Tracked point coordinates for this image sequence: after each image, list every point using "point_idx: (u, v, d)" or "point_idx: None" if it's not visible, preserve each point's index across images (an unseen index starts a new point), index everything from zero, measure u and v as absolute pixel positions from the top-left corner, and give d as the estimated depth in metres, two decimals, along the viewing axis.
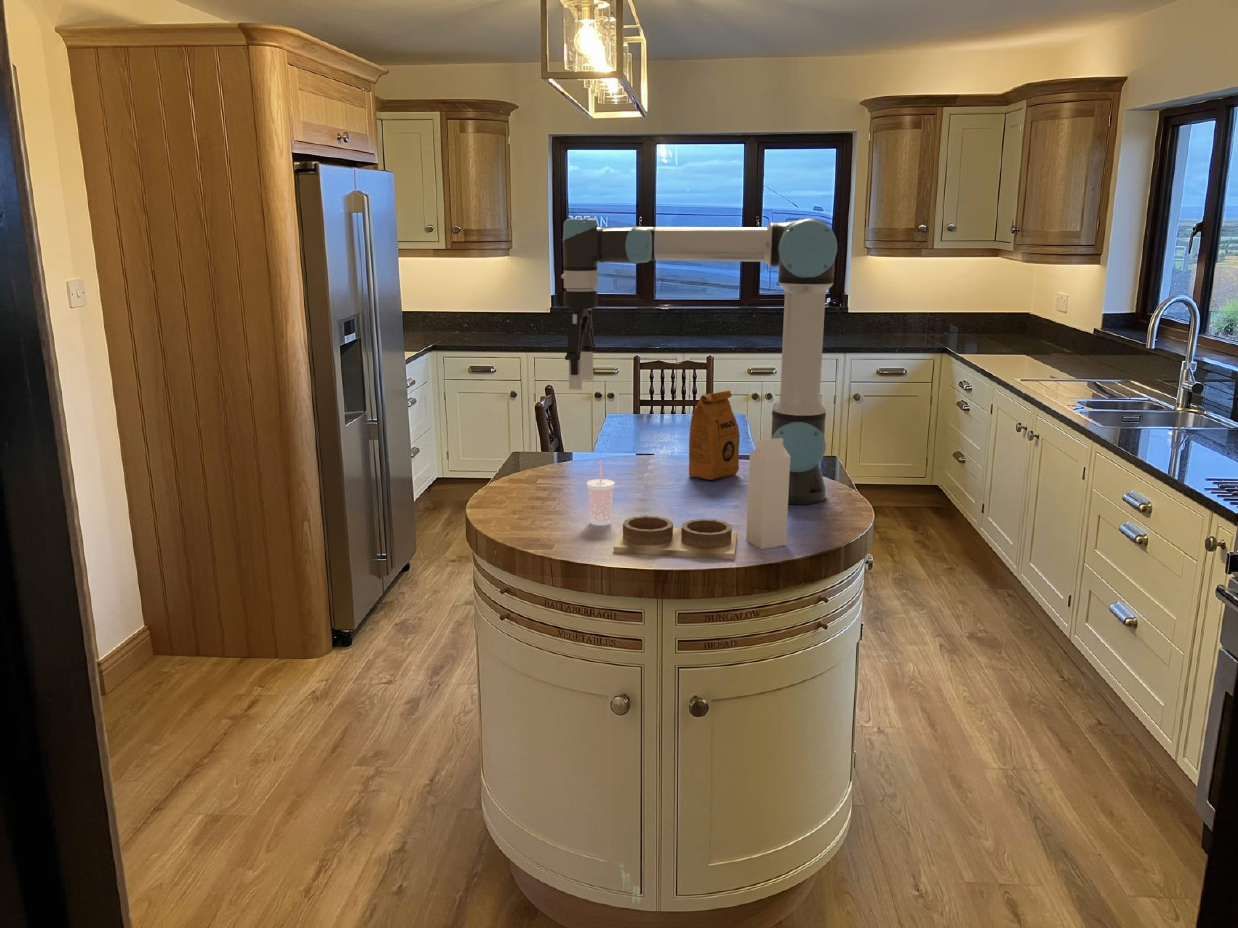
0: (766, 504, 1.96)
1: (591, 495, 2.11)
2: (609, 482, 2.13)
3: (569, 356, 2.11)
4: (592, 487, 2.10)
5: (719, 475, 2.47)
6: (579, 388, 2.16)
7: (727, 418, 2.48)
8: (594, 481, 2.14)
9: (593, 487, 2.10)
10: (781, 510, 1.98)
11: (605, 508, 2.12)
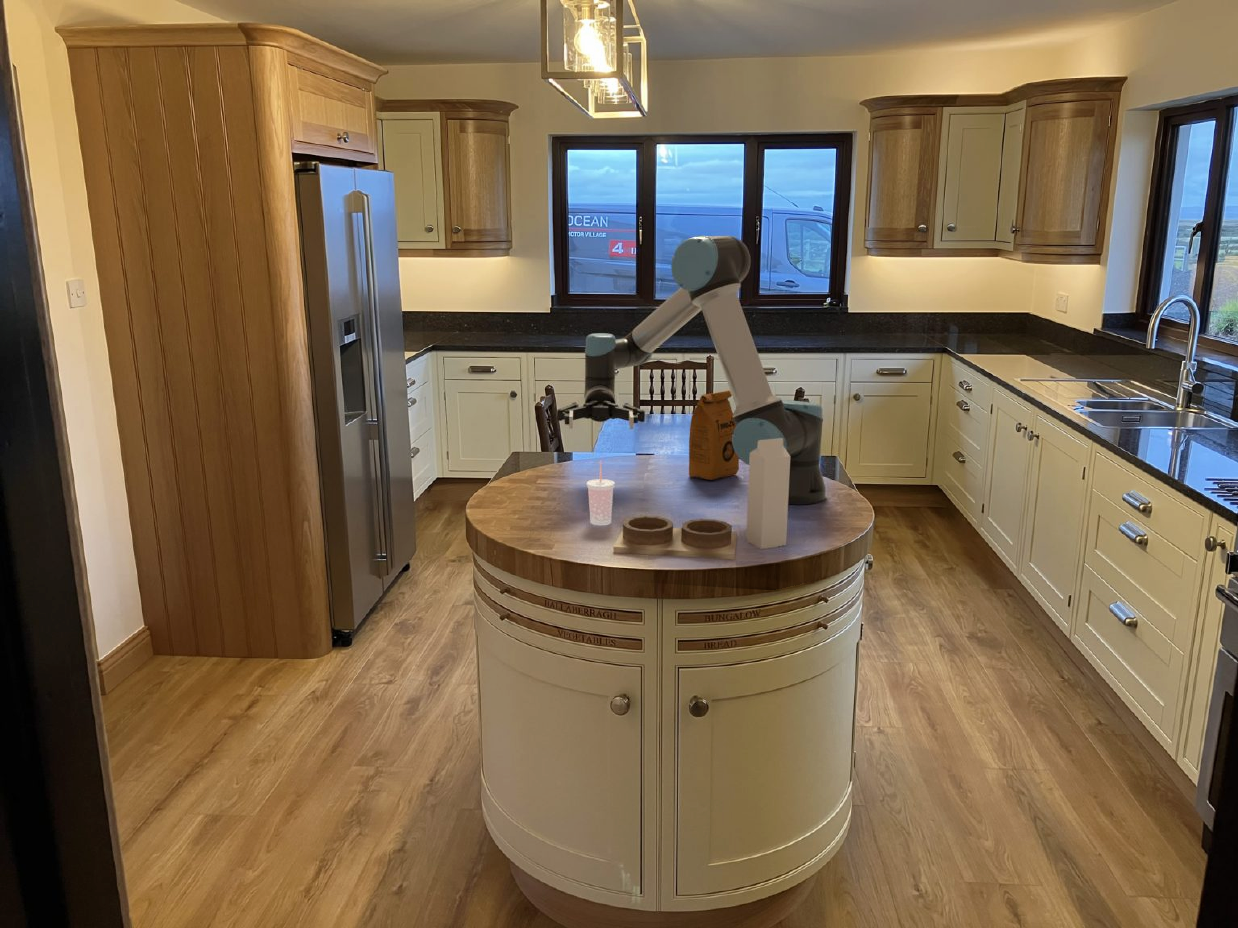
0: (766, 504, 1.96)
1: (591, 495, 2.11)
2: (609, 482, 2.13)
3: (557, 417, 2.26)
4: (592, 487, 2.10)
5: (719, 475, 2.47)
6: (569, 418, 2.18)
7: (727, 418, 2.48)
8: (594, 481, 2.14)
9: (593, 487, 2.10)
10: (781, 510, 1.98)
11: (605, 508, 2.12)
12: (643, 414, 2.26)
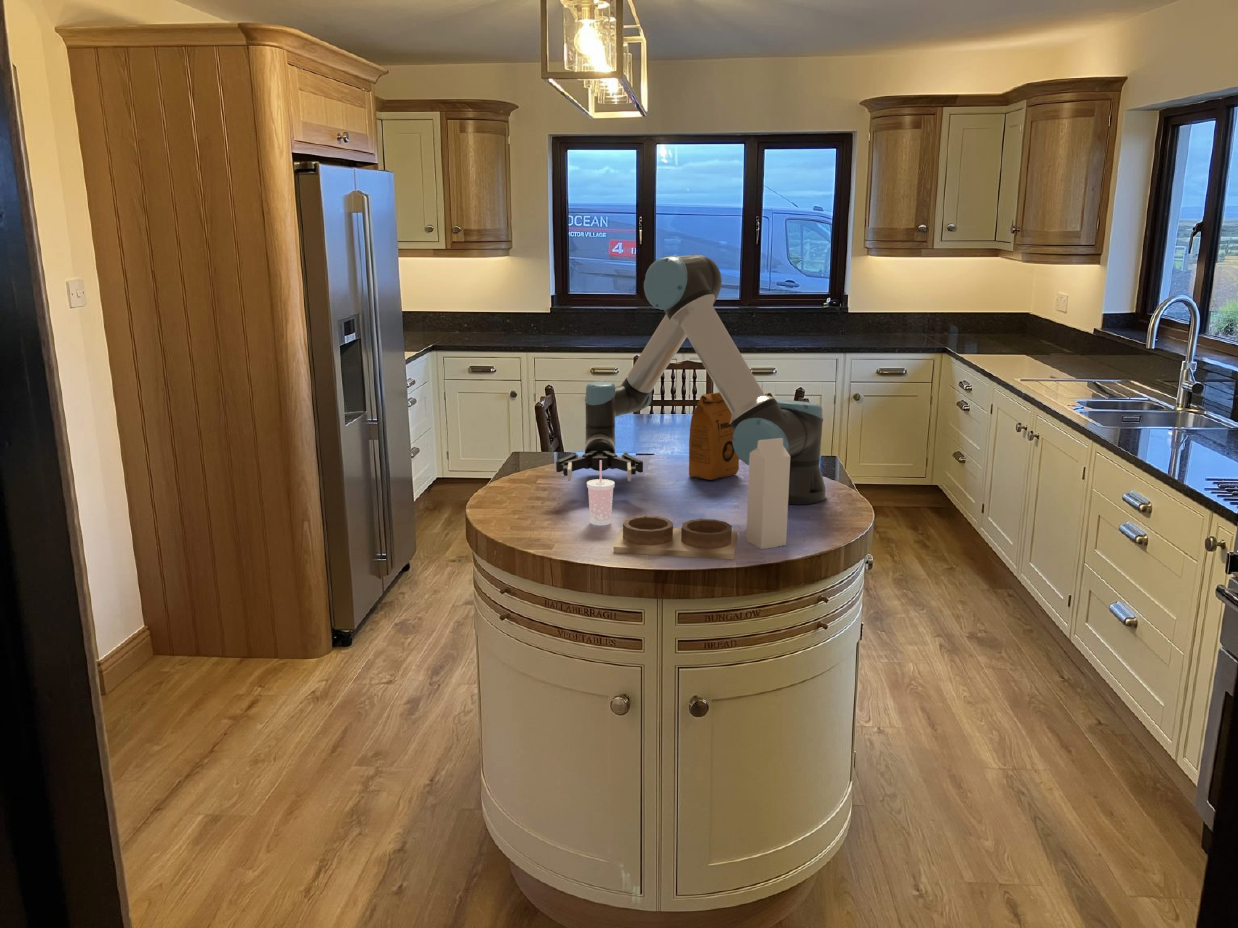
0: (766, 504, 1.96)
1: (591, 495, 2.11)
2: (609, 482, 2.13)
3: (556, 468, 2.28)
4: (592, 487, 2.10)
5: (719, 475, 2.47)
6: None
7: (727, 418, 2.48)
8: (594, 481, 2.14)
9: (593, 487, 2.10)
10: (781, 510, 1.98)
11: (605, 508, 2.12)
12: (642, 465, 2.28)
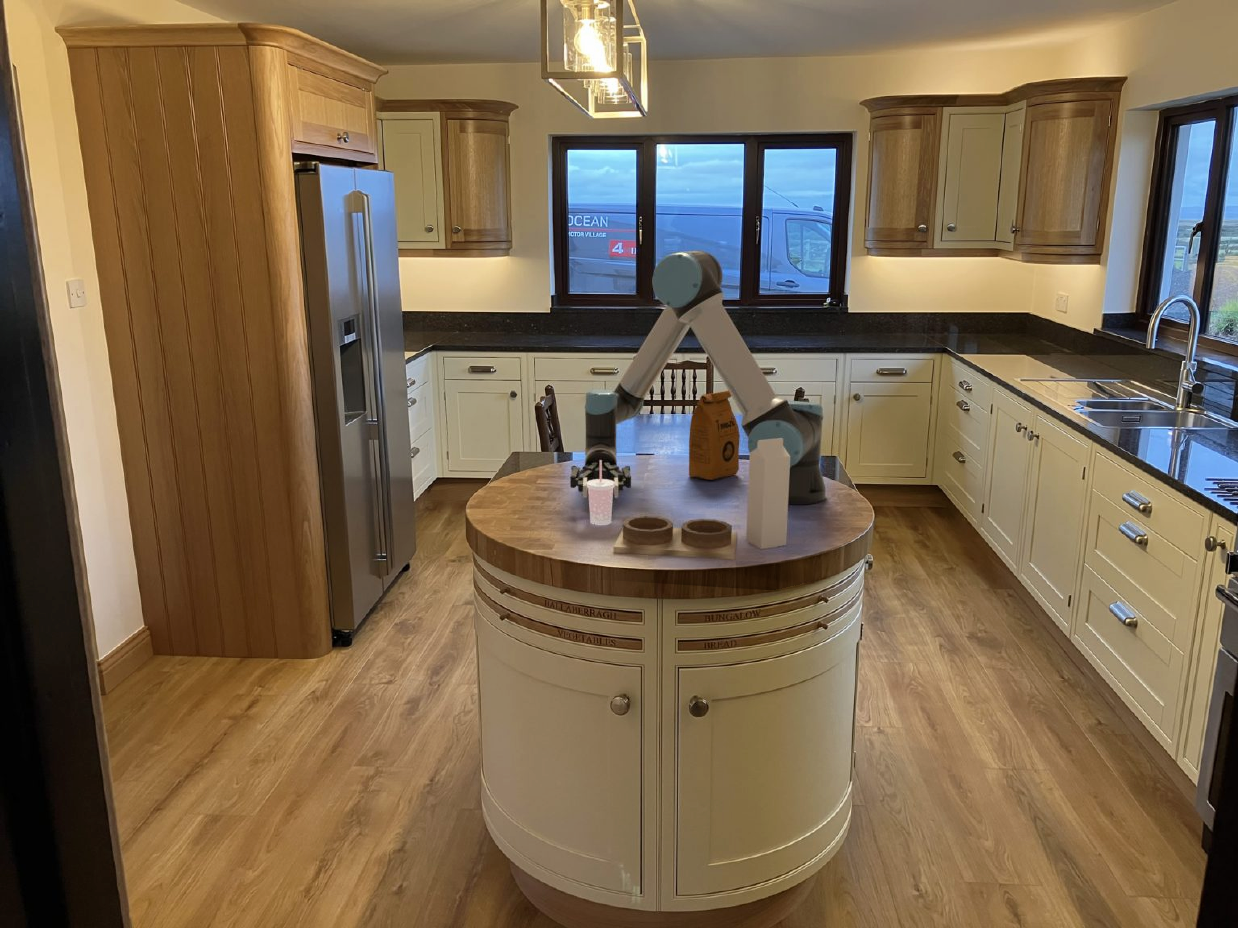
0: (766, 504, 1.96)
1: (591, 495, 2.11)
2: (609, 482, 2.13)
3: (570, 484, 2.15)
4: (592, 487, 2.10)
5: (719, 475, 2.47)
6: (583, 486, 2.08)
7: (727, 418, 2.48)
8: (594, 481, 2.14)
9: (593, 487, 2.10)
10: (781, 510, 1.98)
11: (605, 508, 2.12)
12: (630, 480, 2.15)
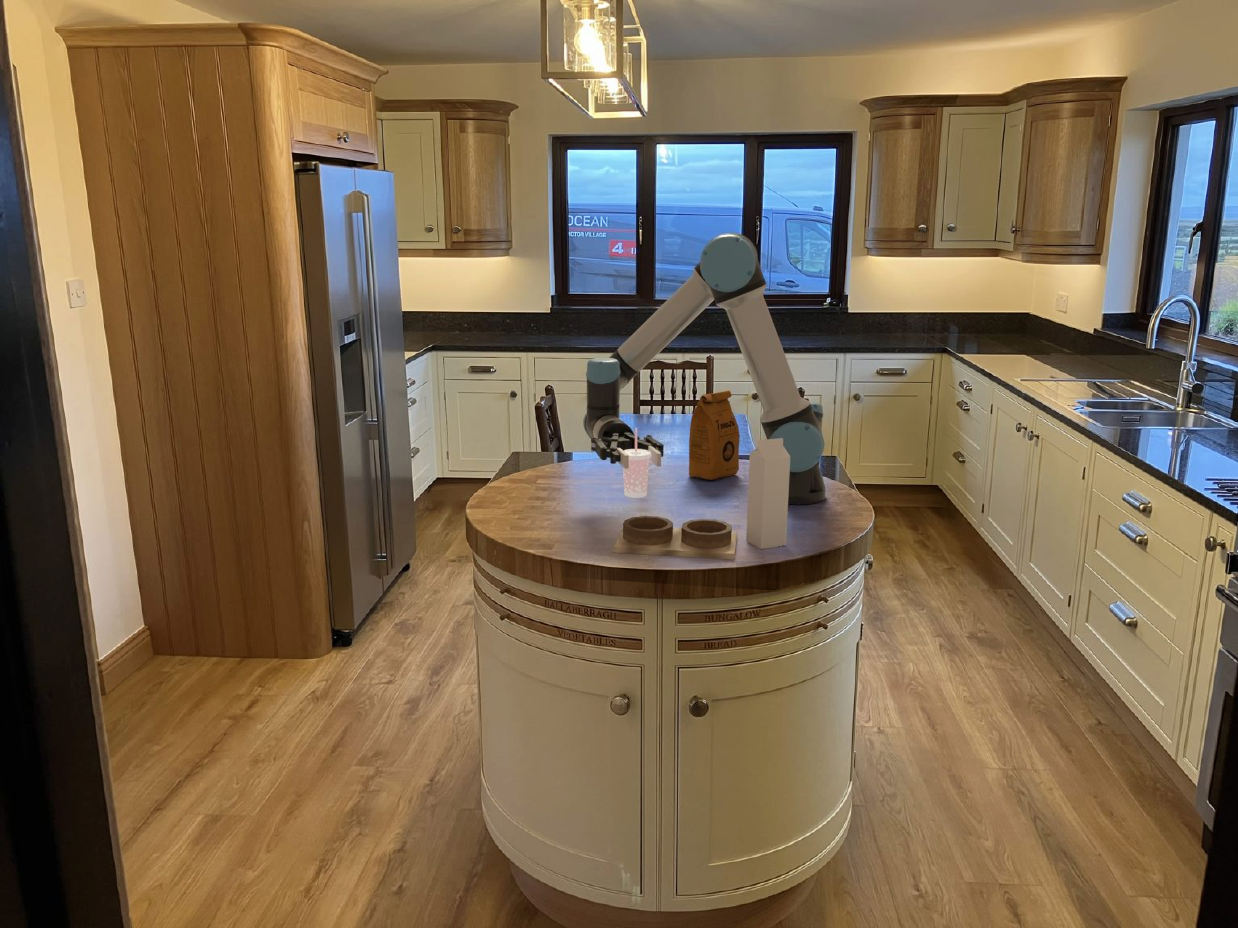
0: (766, 504, 1.96)
1: None
2: (644, 451, 2.01)
3: (601, 456, 2.01)
4: (630, 457, 1.97)
5: (719, 475, 2.47)
6: (624, 457, 1.94)
7: (727, 418, 2.48)
8: (627, 451, 2.01)
9: (631, 457, 1.97)
10: (781, 510, 1.98)
11: (643, 479, 1.99)
12: (663, 448, 2.03)
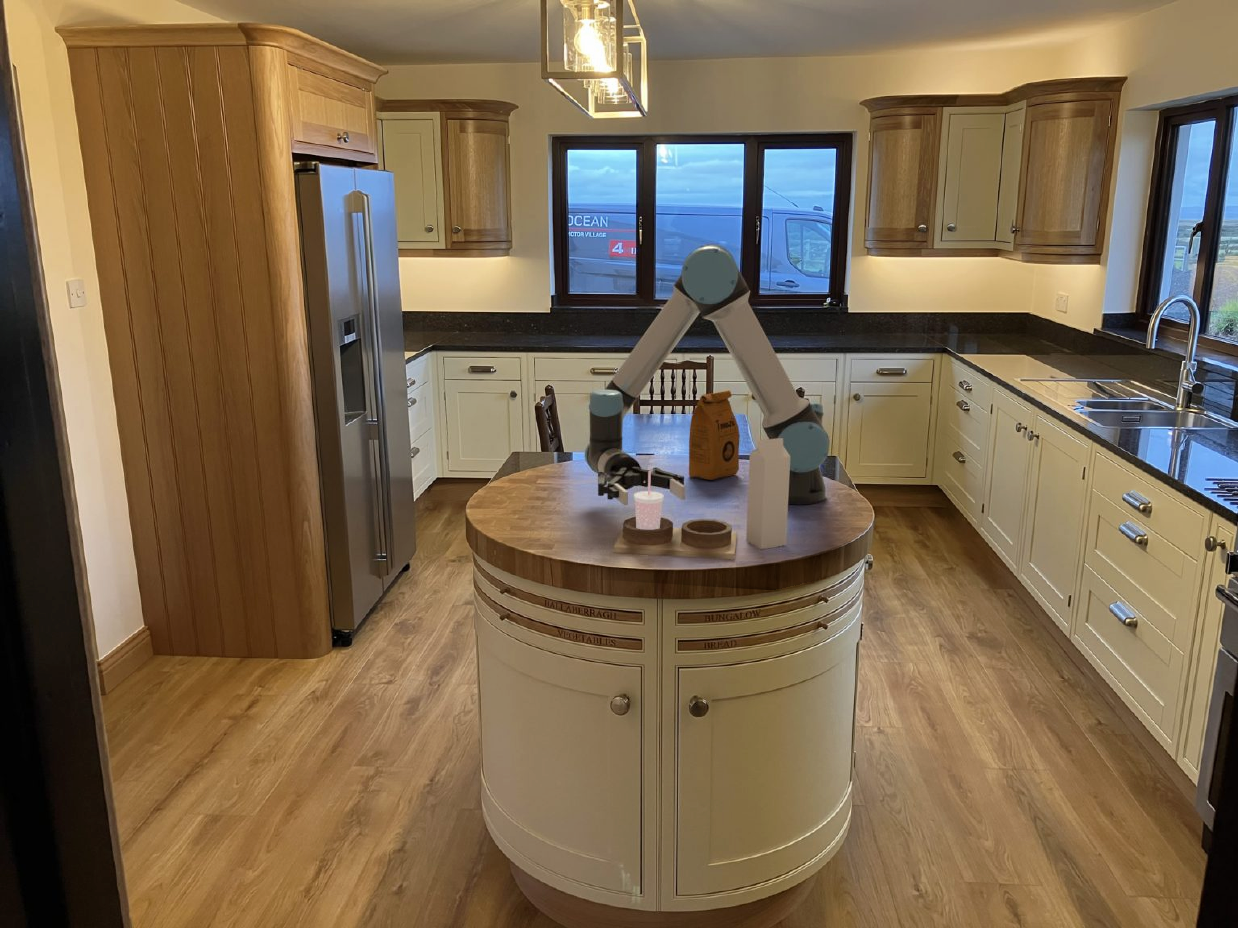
0: (766, 504, 1.96)
1: (642, 509, 1.97)
2: (656, 494, 2.00)
3: (598, 492, 2.00)
4: (644, 501, 1.96)
5: (719, 475, 2.47)
6: (624, 493, 1.93)
7: (727, 418, 2.48)
8: (640, 494, 2.00)
9: (646, 500, 1.96)
10: (781, 510, 1.98)
11: (656, 522, 1.99)
12: (683, 480, 2.05)
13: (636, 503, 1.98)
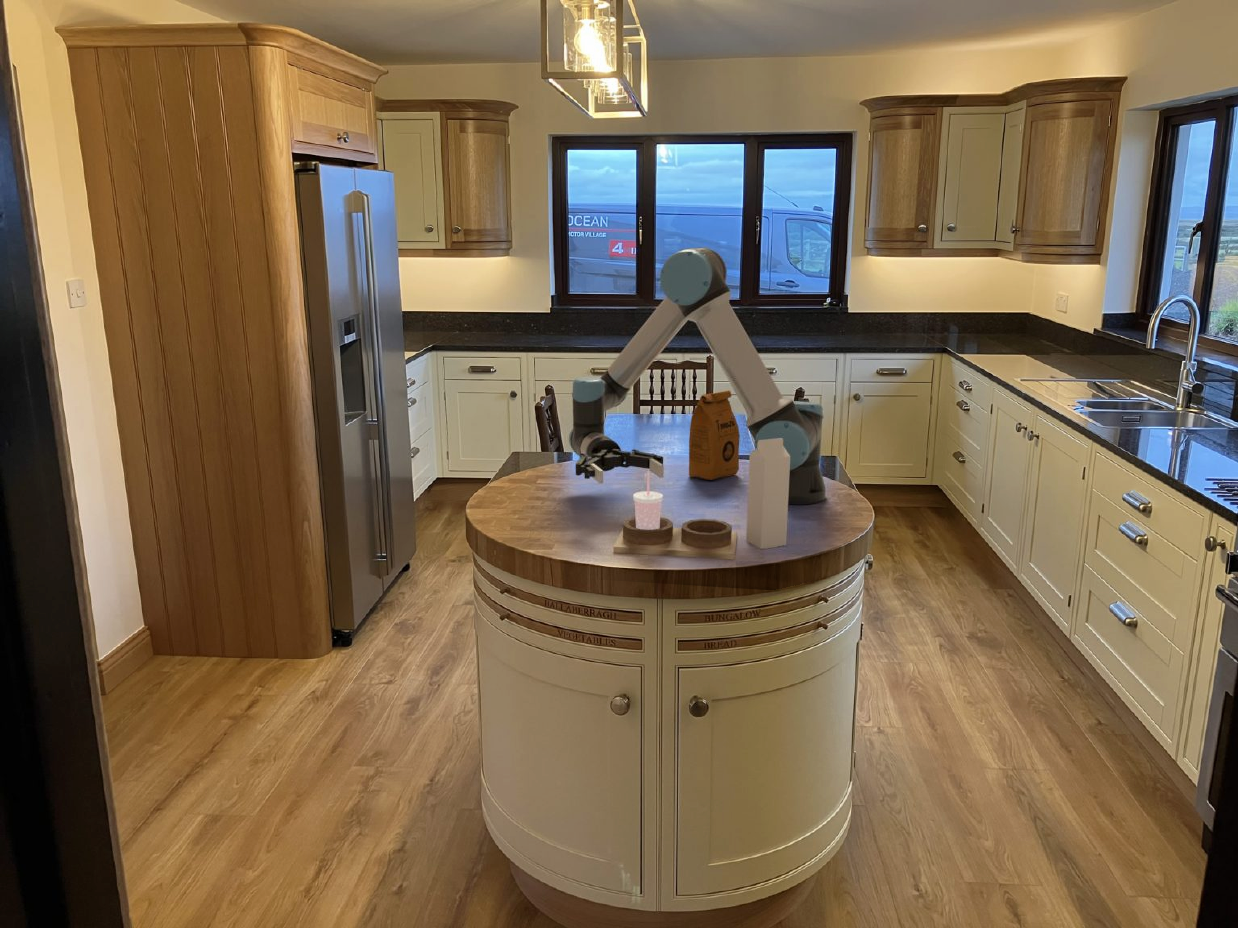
0: (766, 504, 1.96)
1: (641, 509, 1.97)
2: (655, 494, 2.00)
3: (576, 472, 2.12)
4: (643, 501, 1.96)
5: (719, 475, 2.47)
6: (599, 472, 2.05)
7: (727, 418, 2.48)
8: (639, 494, 2.00)
9: (645, 500, 1.96)
10: (781, 510, 1.98)
11: (656, 522, 1.99)
12: (662, 460, 2.17)
13: (635, 503, 1.98)
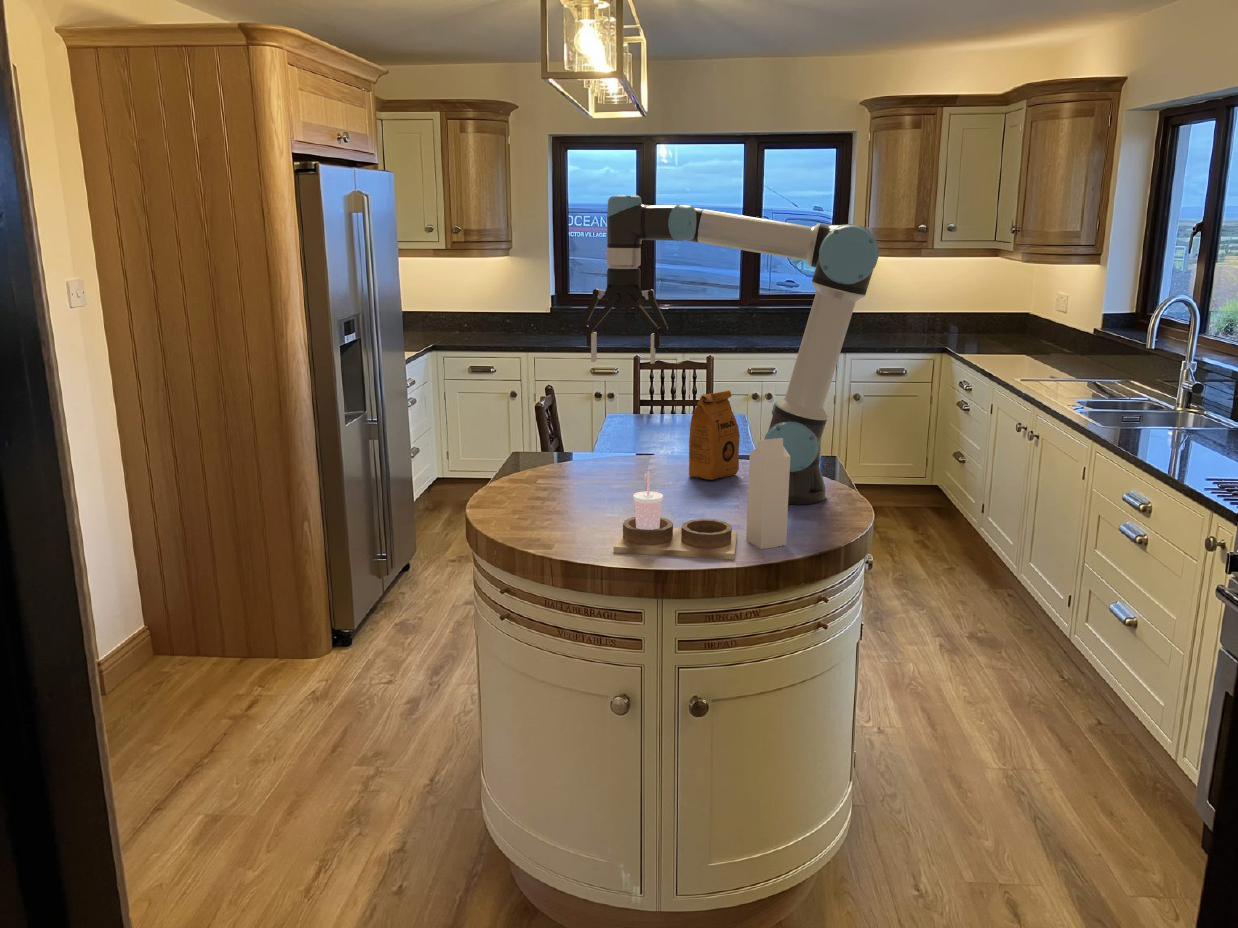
0: (766, 504, 1.96)
1: (641, 509, 1.97)
2: (655, 494, 2.00)
3: None
4: (644, 501, 1.96)
5: (719, 475, 2.47)
6: None
7: (727, 418, 2.48)
8: (639, 494, 2.00)
9: (645, 500, 1.96)
10: (781, 510, 1.98)
11: (656, 522, 1.99)
12: (666, 330, 2.20)
13: (635, 503, 1.98)
